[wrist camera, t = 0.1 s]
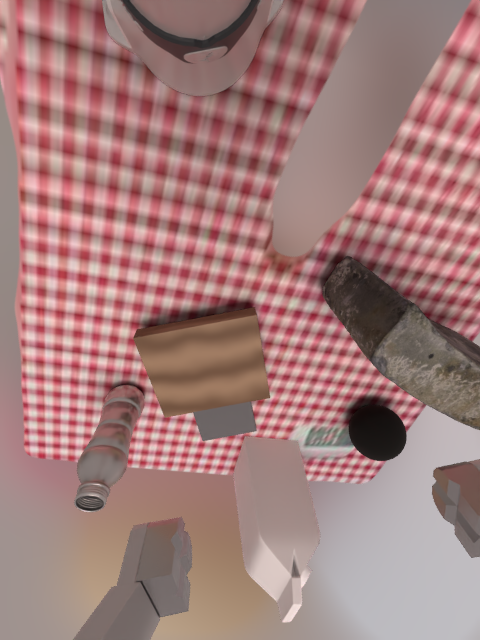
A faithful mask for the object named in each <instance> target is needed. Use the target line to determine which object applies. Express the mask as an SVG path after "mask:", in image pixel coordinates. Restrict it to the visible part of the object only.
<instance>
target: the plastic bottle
mask: <svg viewBox="0 0 480 640" xmlns="http://www.w3.org/2000/svg"><path fill="white" fill-rule="evenodd" d="M143 408H144V395H143V393H142V392H141V391H140V390H139V389H138V388H137V387H135V386H132V385H121V386H118V387H115V388H114V389H112V390H111V391H110V393H109V394H108V395H107V397H106V398H105V401H104V405H103V412H102V415H101V418H100V422H99V425H98V427H97V429H96V431H95V433H94V435H93V437H92V439H91V440H90V442H89V444H88V445H87V447H86V448H85V450H84V452H83V453H82V455H81V457H80V458H79V460H78V464H77V474H78V477H79V480H80V482H81V485H80V486H79V488H78V490H77V495H76V498H75V502H74V504H75V506H76V508H78V509H79V510H82V511H85V512H96V511H99V510H101V509H103V508H104V506H105V504H106V500H107V497H108V496H109V493H110V489H109V488H110V487H111V486H113V485H114V484H115V483H116V482H118V480H120V479H121V477H122V476H123V474H124V473H125V471H126V468H127V463H128V454H129V446H130V442H131V437H132V433H133V430H134V427H135V425H136V422H137V420H138V418H139V417H140V415H141V413H142V410H143Z"/></svg>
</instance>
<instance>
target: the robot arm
mask: <svg viewBox="0 0 480 640" xmlns="http://www.w3.org/2000/svg"><path fill="white" fill-rule="evenodd" d="M283 1H284V0H102V4H103V12H104V19H105V25H106V29H107V32H108V34H109V36H110V37H111V39H112V40H113V41H114V42H115V43H117V44H118V45H120V46H121V47H123V48H125V49H126V50H128V51H130V52H132V53H134V54H136V55H137V56H138V57H139V58H140V59H141V60H142V61H143V62H144V63H145V64H146V66H147V67H148V68H149V69H150V70H151V72H152V73H153V74H154V75H155V76H156V77H157V78H158V79H159V80H161V81H162V82H163V83H164V84H166V85H167V86H169V87H170V88H172V89H174V90H176V91H178V92H181V93H184V94H187V95H192V96H208V95H213V94H216V93H219V92H221V91H223V90H225V89H227V88H229V87H230V86H231V85H233V84H234V83H235V82H236V81H237V80H238V79H239V78H240V77H241V76H242V75H243V74H244V72H245V71H246V70H247V68H248V67H249V65H250V63H251V62H252V60H253V58H254V55H255V53H256V50H257V48H258V45H259V42H260V39H261V37H262V34H263V32H264V30H265V29H266V27H267V26H268V25H269V24H270V23H271V22H272V20H273V19H274V18H275V17H276V15H277V14H278V13H279V11H280V9H281V7H282V5H283ZM433 477H434V478H435V479H436V483H435V484H434V485H433V486H432V495H433V499H434V502H435V504H436V506H437V508H438V510H439V512H440V513H441V515H442V516H443V518H444V519H445V520H447V521H448V522H450V523H451V524H453V525H454V526H455V535H456V536H457V538H458V539H459V541H460V542H461V544H462V545H463V547H464V548H465V549H466V551H467V552H468V554H469V555H470V556H471V558H473V557H480V459H479V460H474V461H470V462H462V463H457V464H453V465H447V466H442V467H438V468H436V469H435V470H434V473H433ZM184 526H185V523H184V521H183V519H182V517H179V518H174V519H168V520H162V521H156V522H149V523H144V524H138V525H134V526H133V528H132V530H131V532H130V536H129V540H128V544H127V548H126V552H125V555H124V560H123V563H122V567H121V571H120V575H119V579H118V582H117V586H114V587H112V588H111V589H110V590H109V591H108V593H107V594H106V596H105V597H104V598H103V600H102V601H101V603H100V604H99V605H98V606H97V608H96V609H95V611H94V612H93V613H92V615H91V616H90V617H89V619H88V620H87V621H86V623H85V624H84V625H83V627H82V628H81V629H80V631H79V632H78V634H77V635H76V636H75V638H74V639H73V640H150V639H151V637H152V635H153V633H154V631H155V629H156V627H157V625H158V623H159V621H160V617H164V616H168V615H173V614H178V613H182V612H186V611H188V608H189V595H190V582H189V580H188V577H187V574H188V572H189V570H190V569H191V567H192V545H191V540H190V536H189V534H188V532H186V531H184Z"/></svg>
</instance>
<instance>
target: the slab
mask: <svg viewBox="0 0 480 640" xmlns="http://www.w3.org/2000/svg"><path fill="white" fill-rule="evenodd" d="M133 339H134V341H135V344H136V346H137V349H138V351H139V354H140V356H141V359H142V361H143V364H144V366H145V369H146V371H147V374H148V376H149V379H150V381H151V384H152V386H153V389H154V391H155V394H156V396H157V399H158V401H159V404H160V406H161V409H162V411H163V414H164V416H165V417H170V416H176V415H181V414H186V413H192V412H197V411H202V410H208V409H213V408H219V407H224V406H229V405H235V404H240V403H245V402H251V401H256V400H261V399H267V398H270V394H269V388H268V381H267V375H266V369H265V363H264V357H263V351H262V344H261V338H260V332H259V326H258V320H257V314H256V311H255V307H254V308H248V309H243V310H238V311H232V312H227V313H222V314H217V315H211V316H206V317H201V318H195V319H190V320H185V321H180V322H174V323H169V324H164V325H158V326H153V327H148V328H143V329H137V331H136V333H135V336H134V338H133Z"/></svg>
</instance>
